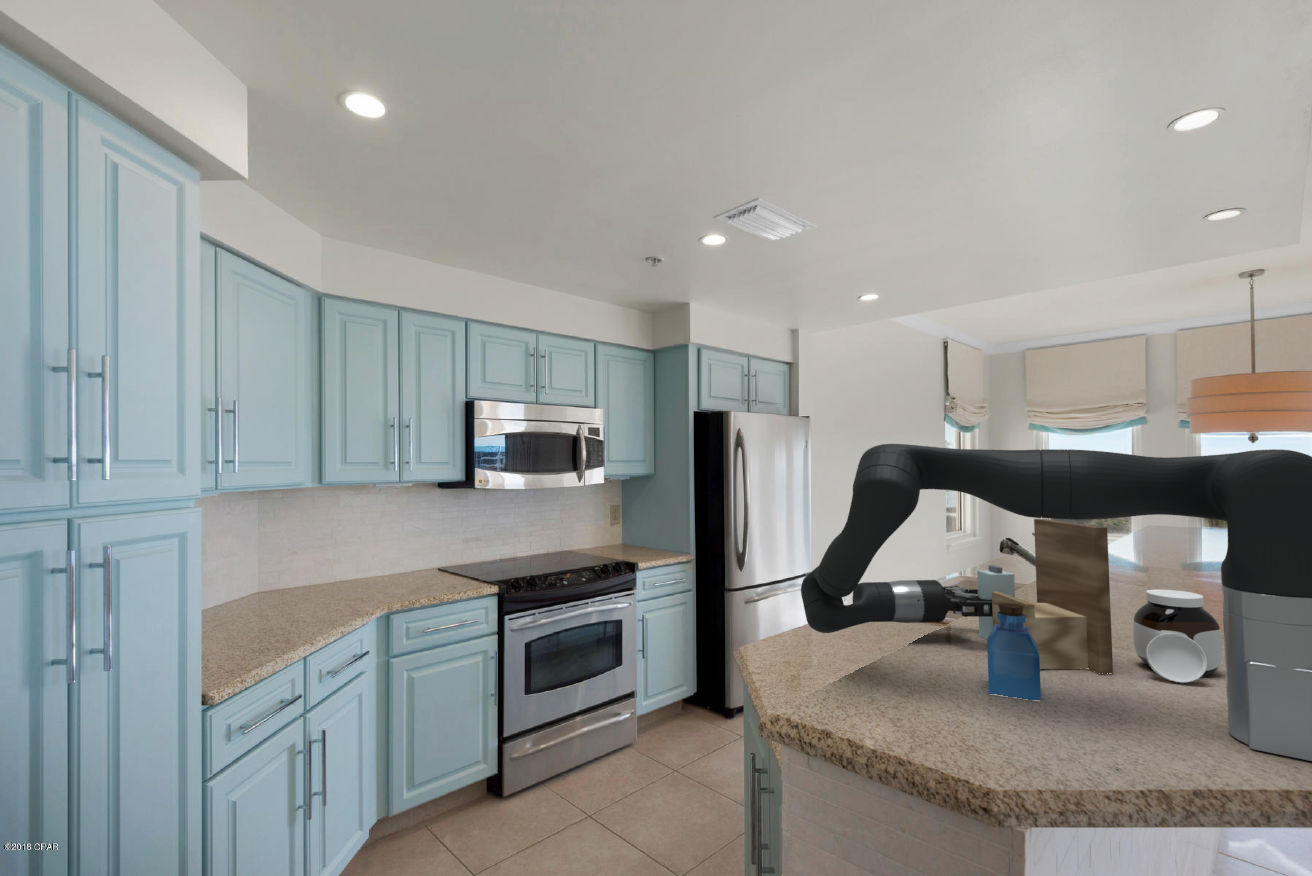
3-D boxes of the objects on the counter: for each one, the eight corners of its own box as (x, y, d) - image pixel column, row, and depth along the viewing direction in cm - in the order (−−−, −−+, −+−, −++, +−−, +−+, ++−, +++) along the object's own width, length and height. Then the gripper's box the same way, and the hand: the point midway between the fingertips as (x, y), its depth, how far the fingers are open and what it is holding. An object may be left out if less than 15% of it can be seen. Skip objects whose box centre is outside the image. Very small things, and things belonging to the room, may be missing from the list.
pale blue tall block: (992, 642, 112) (989, 568, 113) (979, 635, 116) (977, 564, 117) (1016, 642, 112) (1014, 568, 113) (1002, 635, 116) (1000, 564, 117)
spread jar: (1194, 663, 100) (1190, 589, 100) (1254, 688, 88) (1250, 604, 89) (1113, 661, 101) (1110, 588, 101) (1163, 686, 90) (1159, 603, 90)
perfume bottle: (988, 694, 87) (986, 607, 88) (988, 681, 93) (986, 598, 93) (1041, 702, 84) (1038, 611, 85) (1037, 687, 90) (1034, 602, 90)
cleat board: (1039, 675, 95) (1033, 528, 95) (985, 646, 110) (981, 519, 110) (1113, 674, 95) (1107, 527, 96) (1049, 645, 110) (1045, 518, 111)
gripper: (929, 588, 107) (1024, 586, 108) (897, 573, 122) (980, 572, 122) (931, 632, 107) (1026, 631, 107) (898, 612, 121) (982, 611, 121)
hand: (1001, 600), depth 115 cm, fingers open, 8 cm apart
